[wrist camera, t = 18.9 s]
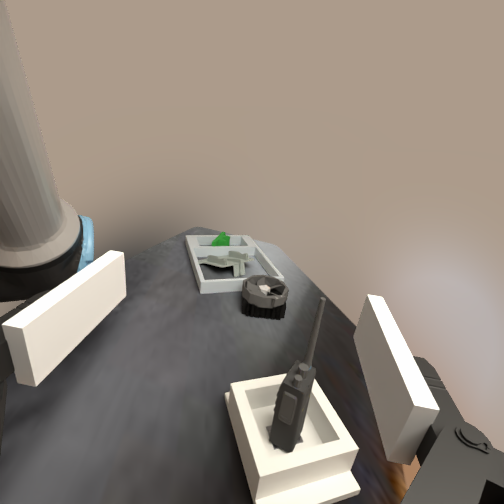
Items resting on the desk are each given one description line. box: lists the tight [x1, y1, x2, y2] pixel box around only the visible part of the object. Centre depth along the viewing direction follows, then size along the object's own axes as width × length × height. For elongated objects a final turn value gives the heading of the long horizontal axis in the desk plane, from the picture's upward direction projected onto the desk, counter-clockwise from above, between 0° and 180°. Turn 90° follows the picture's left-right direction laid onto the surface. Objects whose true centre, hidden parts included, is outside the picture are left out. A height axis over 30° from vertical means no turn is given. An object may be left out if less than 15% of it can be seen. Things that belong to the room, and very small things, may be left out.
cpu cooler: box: [242, 275, 289, 320], centre depth 67 cm, size 10×6×10 cm
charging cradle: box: [225, 374, 360, 504], centre depth 38 cm, size 16×12×5 cm
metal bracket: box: [198, 251, 255, 277], centre depth 84 cm, size 14×6×15 cm
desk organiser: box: [186, 235, 284, 294], centre depth 85 cm, size 30×21×3 cm
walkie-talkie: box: [269, 297, 326, 453], centre depth 35 cm, size 5×3×20 cm
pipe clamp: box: [212, 232, 230, 247], centre depth 93 cm, size 10×4×4 cm, turn 168°
